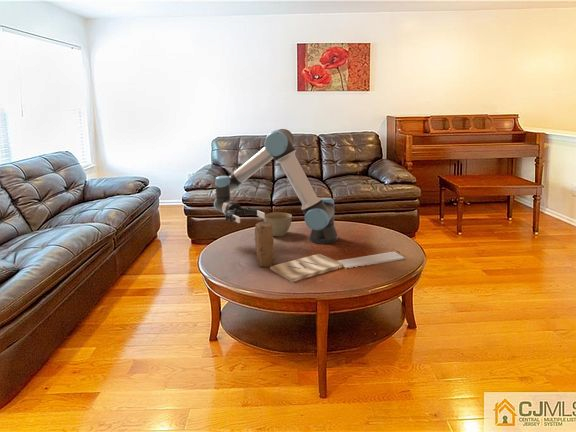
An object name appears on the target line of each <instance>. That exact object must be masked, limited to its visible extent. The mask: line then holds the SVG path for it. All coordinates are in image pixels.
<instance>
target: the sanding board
mask: <svg viewBox="0 0 576 432" xmlns="http://www.w3.org/2000/svg"><path fill="white" fill-rule="evenodd" d="M337 261H338V260H335V259H332V258H330V257H328V256H325V255H324V254H321V253H317V254H313V255H309V256H305V257H302V258H298V259H294V260H289V261H286V262H281V263H279V264H275V265H274V264H273V265H271V266H269V270H271V271H273V272H274V273H275V274H277V275H279V276H281V277H283V278H284V279H286V280H288V281H290V282H291V283H293V282H297V281H300V280H304V279H307V278H311V277H314V276H318V275H321V274H324V273H327V272H331V271H332V272H333V271H335V270H338V268H339V269H341V268H343V264H342V263H339V262H337ZM317 274H318V275H317Z"/></svg>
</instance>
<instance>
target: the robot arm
mask: <svg viewBox="0 0 576 432" xmlns="http://www.w3.org/2000/svg"><path fill="white" fill-rule="evenodd" d="M294 144H295V138H294V135H293V133H292V132H291V131H290V130H288V129H286V128H280V129H276V130H273V131H271V132H270V133H268V134H267V135H266V137H265V139H264V143H263V145H264V146H263V148H261V149H259V151H258V152H256V153H255V154H254V155H253V156H251V158H249V159H247V161H246V162H244V163H243V164H242V165H240V166H239V167H238V168H237V169H236V170H234V171H233V172H231V174H229V175H219V176H216V177H215V179H214V180H215V181H214V182H215V183H214V185H215V195H216V197H215V199H214V201H213V207H214V209H215V210H216V211H218V212H219V213H222V214H224V217H225V221H229V222H230V223H231V222H236V223H237V224H240V223H241V217H240V216H247V215H249V216H251V215H252V216H257V217H259V218H261V219H263V220H264V218H265V214H266V213H265V212H263V208H254V207H250V206H249V207H248V206H246V208H245V207H242V206H241V205H240V204H239V203H238V202H235V201H233V200H231V192H232V191H233V190H235V189H238V188H239V187H240V186H241V185H242V184H243V183H244V182H245V181H246V180H248V179H249V178H250V177H251V176H253V175H255V173H257V172H258V171H259V170H260V169H261V168H263V167H264V166H265V165H266V164H268V163H269V162H271V161H272V160H274V161H275V162H276V163H278V164H280V166H281V168H282V170H283V173H284V174H285V176H286V177H287V180H288V182H289V183H290V185H291V186H292V188H293V190H294V193H295V194H296V196H297V198H298V199H299V201H300V203H301V211H302V214H303V215H304V222H305V224H306V227H308V228H309V229H311V230H310V234H309V241H310V242H312V243H314V244H321V245H323V244H332V243H335V242H337V241H338V233H337V230H336V227H335V200H334V199H333V198H331V197H318V195H317V194H316V192H315V190H314V189H313V188H314V187H313V186H312V185H311V183H310V181H309V179H308V177H307V175H306V173H305V171H304V169H303V168H302V166H301V163H300V162H299V160H298V159H297V157H296V152H297V150H296V148H295V146H294Z"/></svg>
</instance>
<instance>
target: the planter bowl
mask: <svg viewBox="0 0 576 432" xmlns="http://www.w3.org/2000/svg"><path fill="white" fill-rule="evenodd" d="M292 218H293V215H292V214H291V213H287V212H269V213H265V218H264V219H263V222H266V221H267V222H270V224H271V225H272V230H273V237H283V236H286V235H287V232H288V231H289V229H290V227H291V225H292Z"/></svg>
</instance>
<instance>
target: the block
mask: <svg viewBox="0 0 576 432" xmlns="http://www.w3.org/2000/svg"><path fill="white" fill-rule="evenodd" d="M254 226H255V228H254V241H255V251H256V252H255V253H256V254H255V255H256V261H257V265H258V266H259V267H262V268H264V267H265V268H266V267H270V266H274V264H275V247H274V246H275V245H274V236H273V230H272V225H271V224H270V222H267V221H266V222H264V221H260V222H259V221H258V222H257V223H255V225H254Z"/></svg>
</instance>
